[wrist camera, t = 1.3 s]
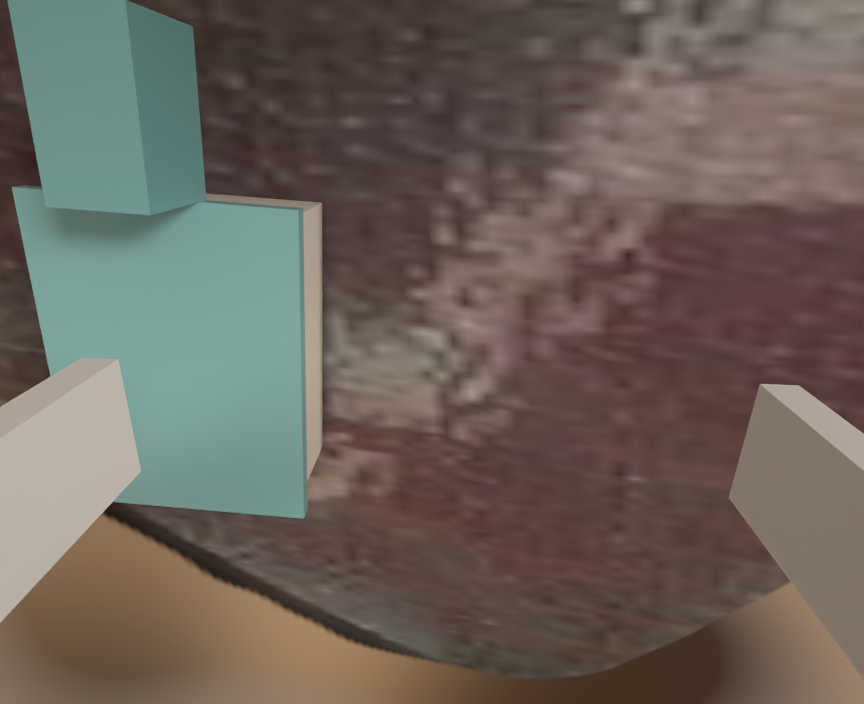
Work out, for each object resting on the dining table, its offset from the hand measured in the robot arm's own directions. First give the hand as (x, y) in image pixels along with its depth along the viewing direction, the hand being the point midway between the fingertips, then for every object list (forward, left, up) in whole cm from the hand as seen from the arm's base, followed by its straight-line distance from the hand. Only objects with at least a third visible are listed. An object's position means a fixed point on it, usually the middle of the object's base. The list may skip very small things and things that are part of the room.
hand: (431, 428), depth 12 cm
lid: (+3, -13, -16) cm, 21 cm away
